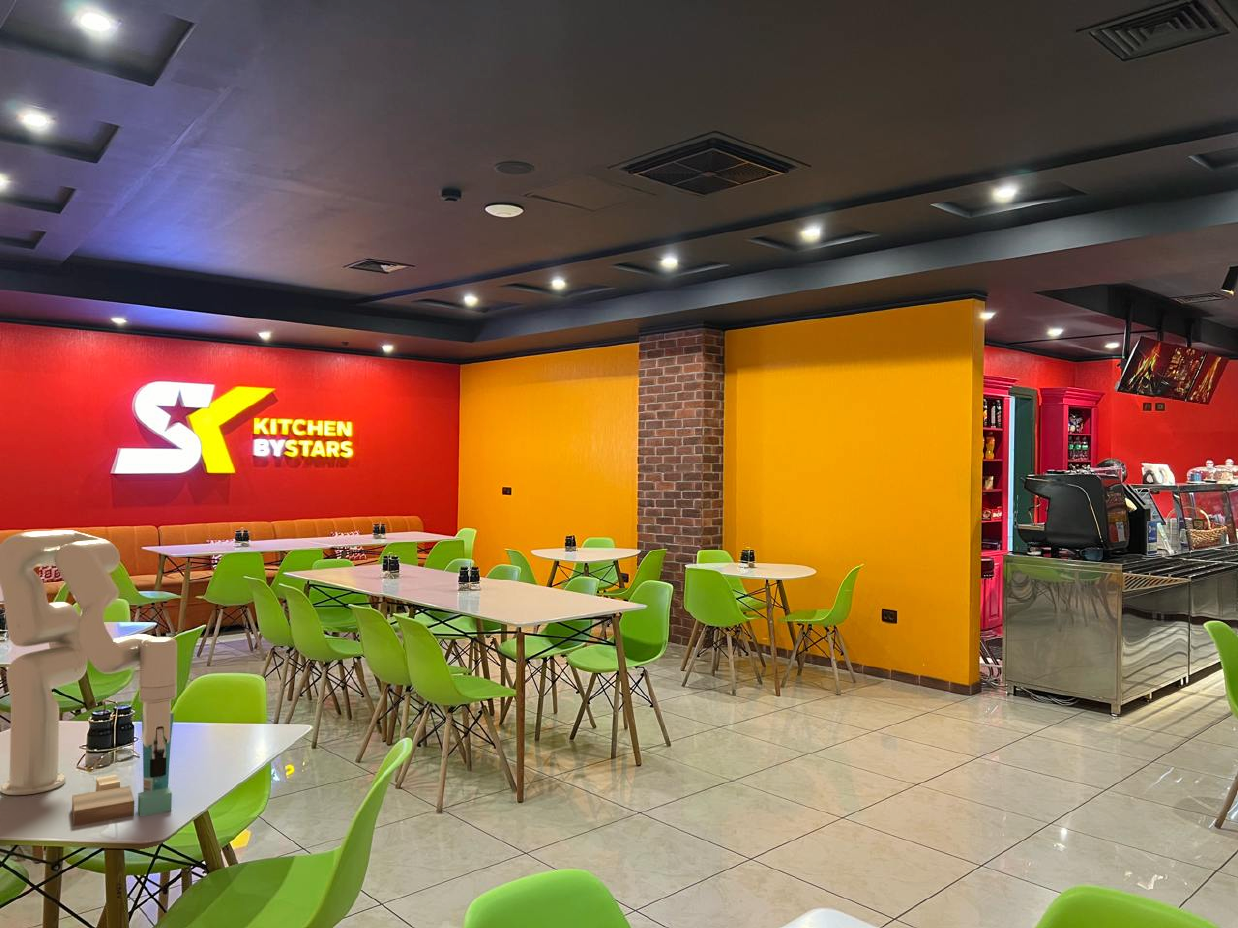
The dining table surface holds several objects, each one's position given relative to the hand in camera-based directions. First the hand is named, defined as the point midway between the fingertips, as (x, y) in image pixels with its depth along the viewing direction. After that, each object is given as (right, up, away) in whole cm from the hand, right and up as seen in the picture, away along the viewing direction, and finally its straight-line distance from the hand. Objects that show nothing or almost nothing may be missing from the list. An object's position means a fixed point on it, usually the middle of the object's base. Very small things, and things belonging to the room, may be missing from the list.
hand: (156, 771), depth 197 cm
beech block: (-11, -6, +1) cm, 13 cm away
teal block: (+4, -6, -7) cm, 10 cm away
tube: (0, -6, 0) cm, 6 cm away
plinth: (-7, -6, -9) cm, 13 cm away
